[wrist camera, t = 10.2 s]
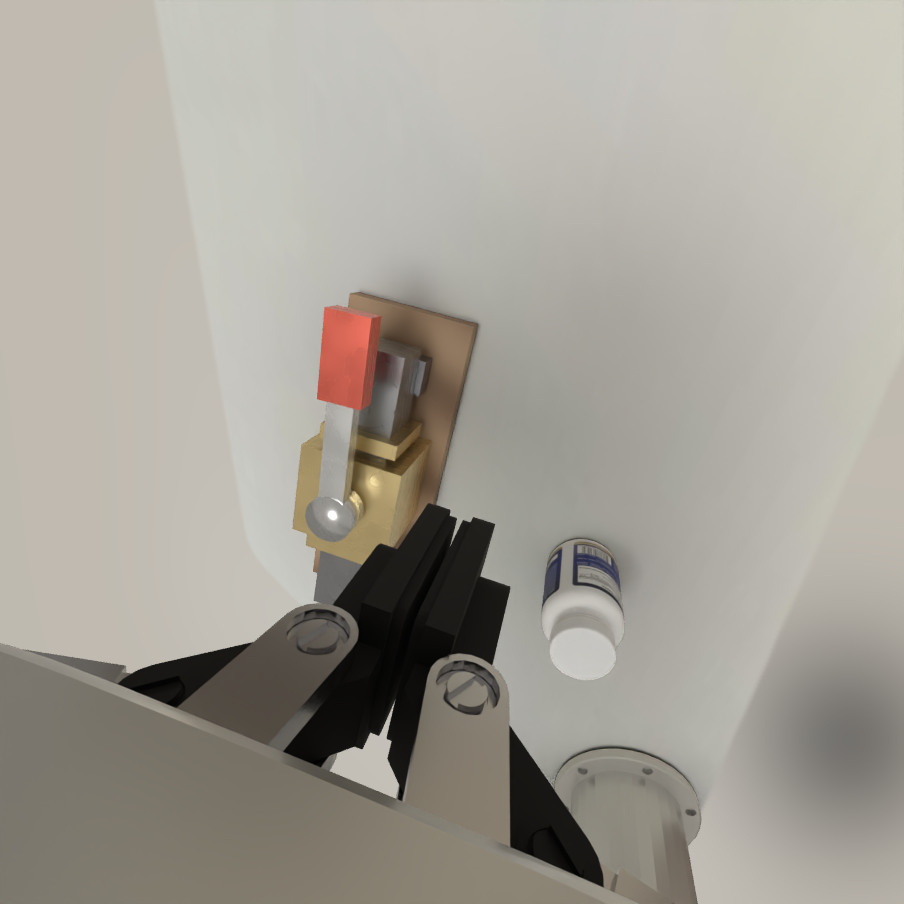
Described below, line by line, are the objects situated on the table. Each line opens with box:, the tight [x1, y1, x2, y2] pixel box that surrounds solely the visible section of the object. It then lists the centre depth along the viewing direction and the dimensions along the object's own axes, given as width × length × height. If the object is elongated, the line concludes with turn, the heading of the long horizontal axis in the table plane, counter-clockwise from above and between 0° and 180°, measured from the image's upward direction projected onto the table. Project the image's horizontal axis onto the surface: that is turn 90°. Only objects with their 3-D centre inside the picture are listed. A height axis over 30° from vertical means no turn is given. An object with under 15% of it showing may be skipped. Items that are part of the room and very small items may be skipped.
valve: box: [292, 337, 433, 605], centre depth 36 cm, size 20×7×7 cm, turn 167°
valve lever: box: [305, 305, 382, 542], centre depth 29 cm, size 14×3×2 cm, turn 169°
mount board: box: [313, 292, 478, 573], centre depth 40 cm, size 24×9×2 cm, turn 167°
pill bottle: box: [541, 539, 625, 680], centre depth 35 cm, size 5×5×10 cm
